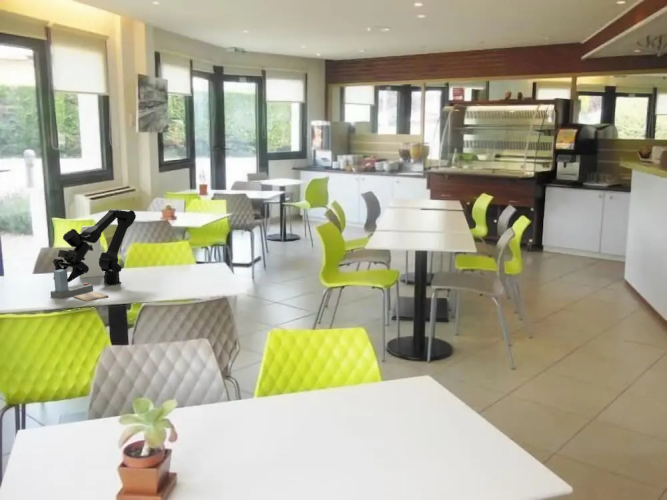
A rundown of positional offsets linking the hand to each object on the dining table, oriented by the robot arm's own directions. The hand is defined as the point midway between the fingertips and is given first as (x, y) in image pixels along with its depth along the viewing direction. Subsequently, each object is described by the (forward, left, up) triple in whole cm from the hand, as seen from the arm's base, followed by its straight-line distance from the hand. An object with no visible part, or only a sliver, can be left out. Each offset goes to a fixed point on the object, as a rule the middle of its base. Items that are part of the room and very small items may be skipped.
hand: (60, 280), depth 292 cm
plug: (0, 0, -7) cm, 7 cm away
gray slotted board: (-5, -1, -8) cm, 10 cm away
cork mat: (-8, +12, -8) cm, 16 cm away
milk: (-33, -33, -8) cm, 48 cm away
